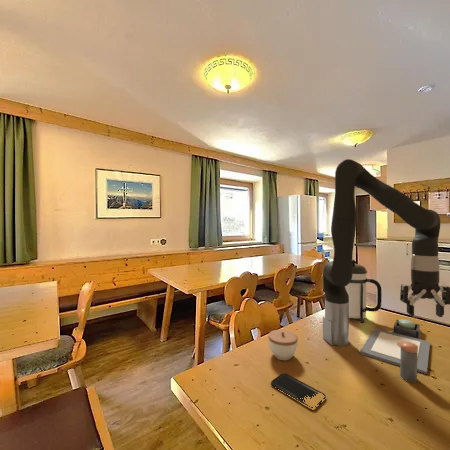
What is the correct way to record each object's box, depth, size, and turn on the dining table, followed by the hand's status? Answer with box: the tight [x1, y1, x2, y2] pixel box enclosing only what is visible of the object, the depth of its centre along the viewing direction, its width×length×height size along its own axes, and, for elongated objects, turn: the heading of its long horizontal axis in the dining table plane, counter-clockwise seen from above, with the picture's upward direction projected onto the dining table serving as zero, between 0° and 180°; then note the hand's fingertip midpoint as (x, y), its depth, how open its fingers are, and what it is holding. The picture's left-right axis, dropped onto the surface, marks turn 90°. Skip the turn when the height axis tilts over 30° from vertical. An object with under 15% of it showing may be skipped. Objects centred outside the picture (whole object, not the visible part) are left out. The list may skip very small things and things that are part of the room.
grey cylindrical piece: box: [399, 341, 418, 383], centre depth 82 cm, size 5×5×11 cm
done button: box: [398, 318, 416, 330], centre depth 114 cm, size 6×6×2 cm
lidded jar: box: [268, 329, 299, 361], centre depth 96 cm, size 11×11×9 cm
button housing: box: [391, 319, 422, 339], centre depth 114 cm, size 10×10×3 cm
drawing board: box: [359, 327, 431, 375], centre depth 100 cm, size 26×20×1 cm
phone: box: [270, 372, 327, 408], centre depth 77 cm, size 8×1×15 cm
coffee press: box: [345, 259, 383, 324], centre depth 130 cm, size 17×16×30 cm
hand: (425, 315), depth 86 cm, fingers open, 8 cm apart
